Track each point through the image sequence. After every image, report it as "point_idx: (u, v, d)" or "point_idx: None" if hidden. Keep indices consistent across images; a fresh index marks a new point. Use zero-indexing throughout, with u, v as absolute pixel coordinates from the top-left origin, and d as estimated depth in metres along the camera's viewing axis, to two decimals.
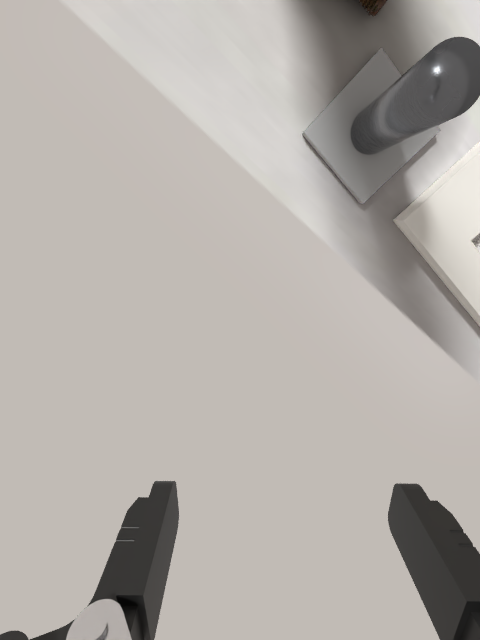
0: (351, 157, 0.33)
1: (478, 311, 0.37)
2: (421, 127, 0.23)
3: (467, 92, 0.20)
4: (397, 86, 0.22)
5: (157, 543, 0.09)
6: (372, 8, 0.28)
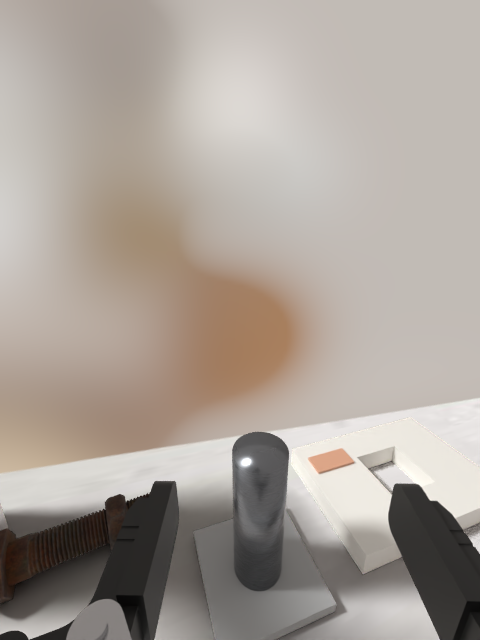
0: (275, 598, 0.26)
1: None
2: (284, 485, 0.24)
3: (274, 443, 0.25)
4: (241, 498, 0.24)
5: (157, 543, 0.09)
6: None
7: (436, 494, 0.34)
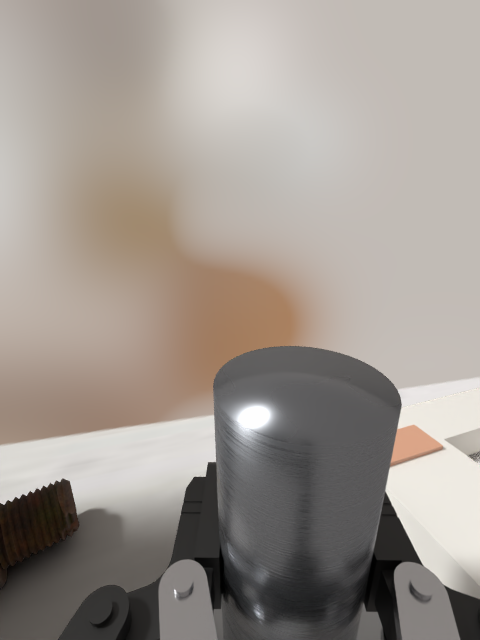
0: None
1: None
2: (384, 490, 0.07)
3: (339, 367, 0.08)
4: (242, 534, 0.07)
5: None
6: (67, 523, 0.17)
7: None
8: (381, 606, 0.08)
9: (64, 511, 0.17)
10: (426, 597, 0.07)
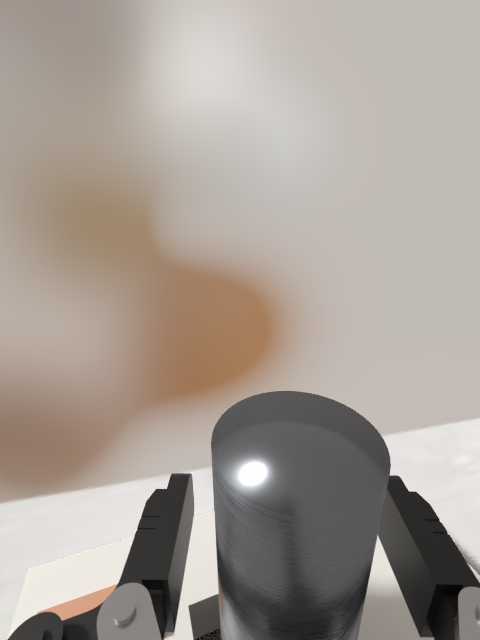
0: None
1: None
2: (375, 544, 0.07)
3: (332, 418, 0.09)
4: (239, 587, 0.07)
5: (178, 531, 0.09)
6: None
7: None
8: (441, 633, 0.08)
9: None
10: None
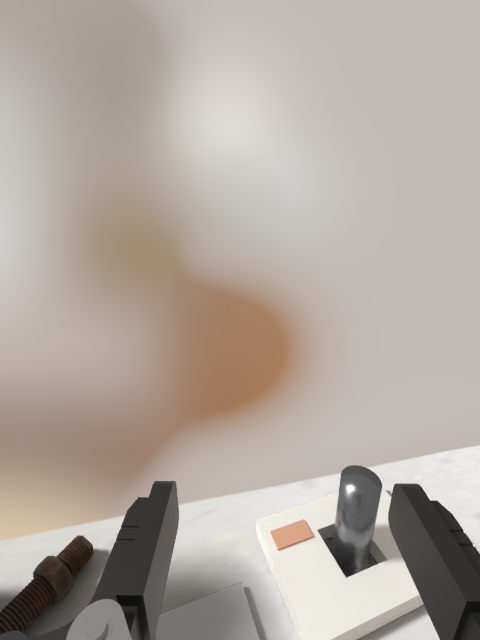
0: None
1: None
2: (378, 504, 0.35)
3: (368, 474, 0.36)
4: (349, 512, 0.35)
5: (157, 543, 0.09)
6: (90, 551, 0.39)
7: (386, 575, 0.35)
8: None
9: (88, 546, 0.39)
10: None
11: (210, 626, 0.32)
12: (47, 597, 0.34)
